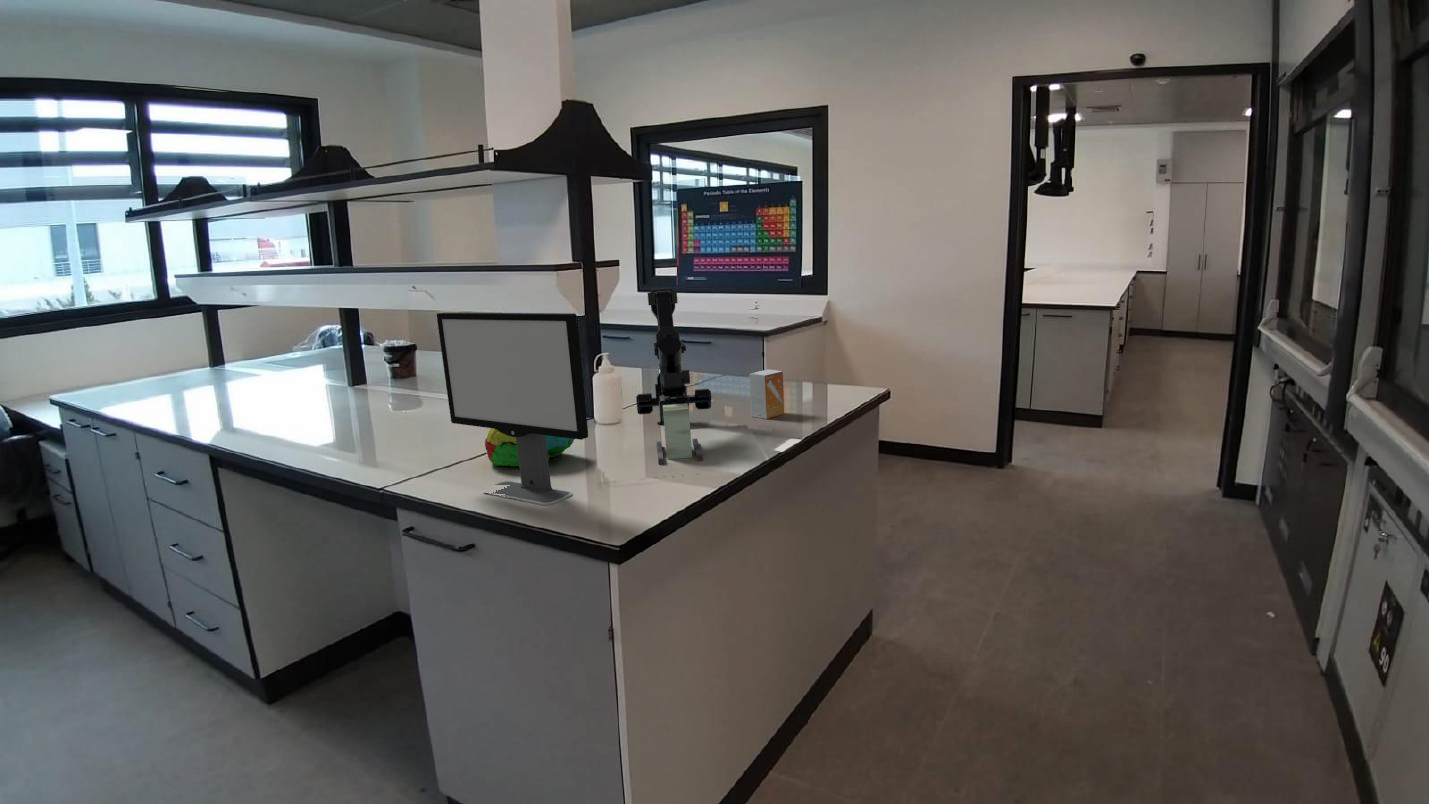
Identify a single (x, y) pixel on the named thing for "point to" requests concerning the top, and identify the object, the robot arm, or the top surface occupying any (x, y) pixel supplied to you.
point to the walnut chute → (696, 448)
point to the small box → (767, 393)
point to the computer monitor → (517, 386)
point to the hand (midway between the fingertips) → (676, 429)
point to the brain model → (505, 447)
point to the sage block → (677, 431)
